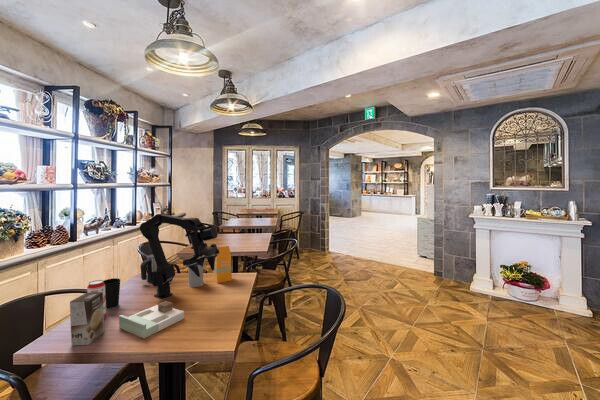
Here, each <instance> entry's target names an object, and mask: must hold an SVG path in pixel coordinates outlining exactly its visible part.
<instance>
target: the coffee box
mask: <svg viewBox="0 0 600 400" xmlns="http://www.w3.org/2000/svg"><path fill="white" fill-rule="evenodd" d="M69 315H70V318H69V319H70V338H71V339H70V341H71V344H70V345H71V346H89V345H91V344H92V343H93V342H94V341H95V340H96V339H97V338H99V337H100V336H101V335H102V334H104V333H105V321H104V319H105V318H104V312H103V292H91V293H87V292H85V293H83V294H82V295H80V296H78V297H76V298H74V299H72V300H70V301H69Z"/></svg>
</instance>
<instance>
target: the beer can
mask: <svg viewBox="0 0 600 400" xmlns="http://www.w3.org/2000/svg"><path fill="white" fill-rule="evenodd" d="M103 281H104V280H103V279H97V280H92V281H89V282H88V285H87V288H86V289H87V290H86V291H87V292H86V293H91V292H103V312H104V319H105V318H106V316H107V309H106V296H105V284H104V282H103Z"/></svg>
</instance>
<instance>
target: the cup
mask: <svg viewBox="0 0 600 400" xmlns="http://www.w3.org/2000/svg"><path fill="white" fill-rule="evenodd" d="M103 282H104V284H105V296H106V310H107V309H113V308H117V307H118V306H119V303H120V290H121V289H120V288H121V278H117V277H116V278H115V277H114V278H113V277H112V278H107V279H104V280H103Z"/></svg>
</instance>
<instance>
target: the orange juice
mask: <svg viewBox="0 0 600 400" xmlns="http://www.w3.org/2000/svg"><path fill="white" fill-rule="evenodd" d="M217 249H218V250H219V253H218V256H217V257H216V258H215V265H214V270H212V278H213V279H212V280H213V281H214V282H215V283H216V284H221V283H227V282H230V281H233V280H232V279H233V274H232V272H233V269H232V254H231V250H230V246H229V245H227V246H219V247H218V246H217ZM216 255H217V254H216Z"/></svg>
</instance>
